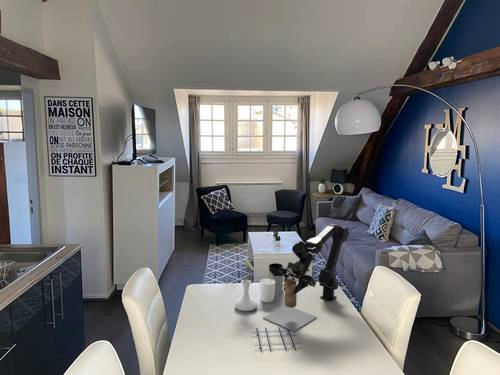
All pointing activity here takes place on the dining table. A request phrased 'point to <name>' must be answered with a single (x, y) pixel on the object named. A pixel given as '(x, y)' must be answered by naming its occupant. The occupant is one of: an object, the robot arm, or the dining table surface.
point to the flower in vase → (246, 294)
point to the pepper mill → (290, 292)
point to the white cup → (267, 290)
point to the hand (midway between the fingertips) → (288, 292)
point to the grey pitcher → (276, 277)
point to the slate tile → (290, 318)
